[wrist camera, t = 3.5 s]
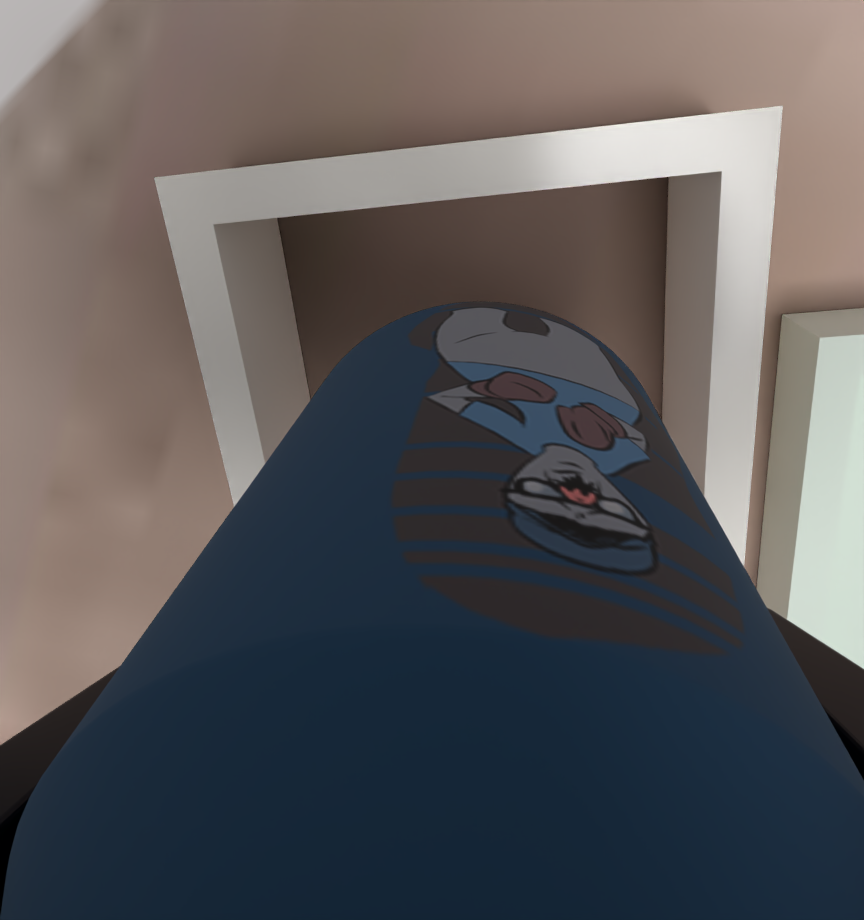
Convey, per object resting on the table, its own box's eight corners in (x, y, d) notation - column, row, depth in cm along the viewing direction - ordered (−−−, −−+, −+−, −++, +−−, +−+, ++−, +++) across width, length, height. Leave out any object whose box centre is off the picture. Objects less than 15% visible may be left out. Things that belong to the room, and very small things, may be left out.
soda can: (382, 623, 17) (164, 1524, 6) (262, 348, 14) (-511, 1034, 3) (683, 555, 15) (1130, 1582, 4) (608, 235, 13) (1217, 798, 2)
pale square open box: (692, 547, 22) (737, 642, 18) (310, 565, 23) (270, 657, 19) (713, 113, 17) (783, 105, 13) (229, 168, 18) (154, 177, 14)
